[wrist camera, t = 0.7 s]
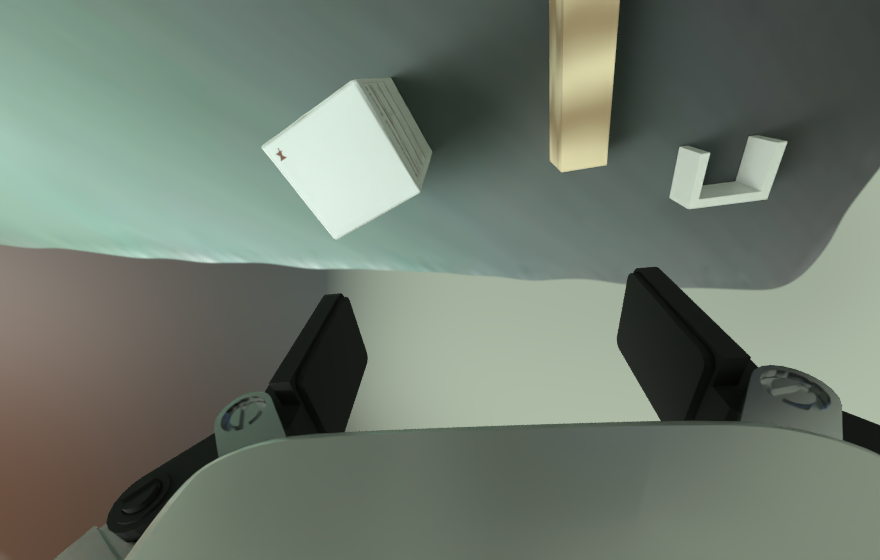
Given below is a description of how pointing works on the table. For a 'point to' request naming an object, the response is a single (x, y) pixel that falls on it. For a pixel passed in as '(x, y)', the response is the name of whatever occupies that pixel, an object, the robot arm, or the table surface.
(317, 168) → the supplement box
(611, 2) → the slat
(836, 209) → the table surface
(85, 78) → the table surface
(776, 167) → the end cap
